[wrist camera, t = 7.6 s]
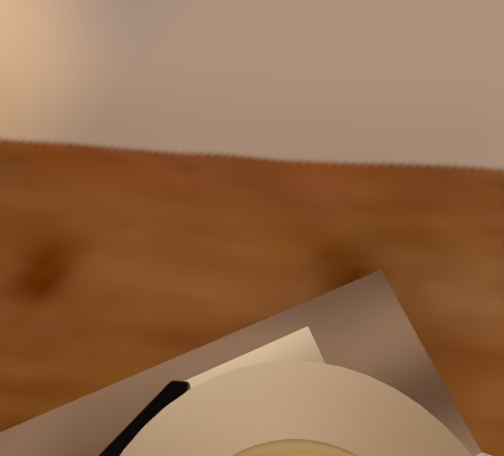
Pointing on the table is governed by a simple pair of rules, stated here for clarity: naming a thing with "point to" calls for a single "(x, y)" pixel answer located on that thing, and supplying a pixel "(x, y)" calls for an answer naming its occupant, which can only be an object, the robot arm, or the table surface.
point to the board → (246, 340)
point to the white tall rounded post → (292, 411)
